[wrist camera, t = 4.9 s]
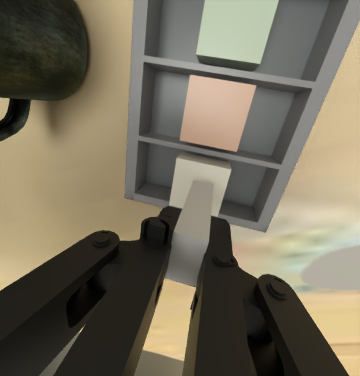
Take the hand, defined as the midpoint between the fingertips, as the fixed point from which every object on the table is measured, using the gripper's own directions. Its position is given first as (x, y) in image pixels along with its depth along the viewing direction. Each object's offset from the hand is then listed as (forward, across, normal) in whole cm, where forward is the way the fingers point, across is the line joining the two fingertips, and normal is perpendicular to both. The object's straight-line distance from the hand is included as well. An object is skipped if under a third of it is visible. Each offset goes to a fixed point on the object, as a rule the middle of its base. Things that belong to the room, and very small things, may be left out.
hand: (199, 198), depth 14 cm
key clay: (+4, 0, +6) cm, 7 cm away
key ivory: (+4, 0, 0) cm, 4 cm away
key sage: (+5, 0, +12) cm, 13 cm away
